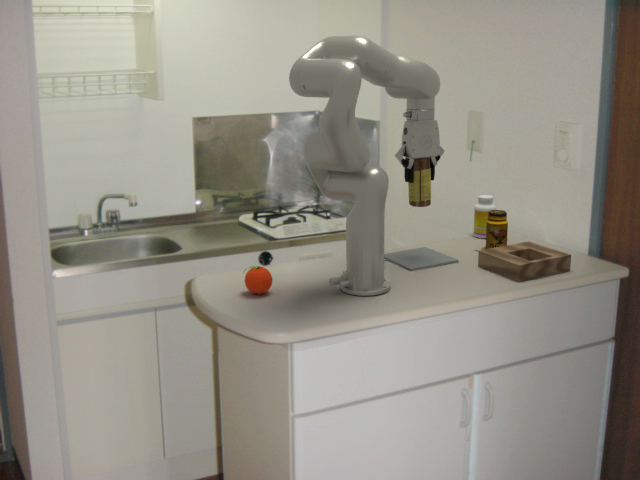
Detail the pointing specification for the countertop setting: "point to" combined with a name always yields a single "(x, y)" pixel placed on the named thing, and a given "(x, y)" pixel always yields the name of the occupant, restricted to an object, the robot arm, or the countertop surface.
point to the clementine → (258, 279)
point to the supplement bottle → (482, 214)
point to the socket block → (524, 261)
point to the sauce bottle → (420, 183)
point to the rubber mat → (419, 258)
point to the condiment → (496, 229)
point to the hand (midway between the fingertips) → (419, 180)
